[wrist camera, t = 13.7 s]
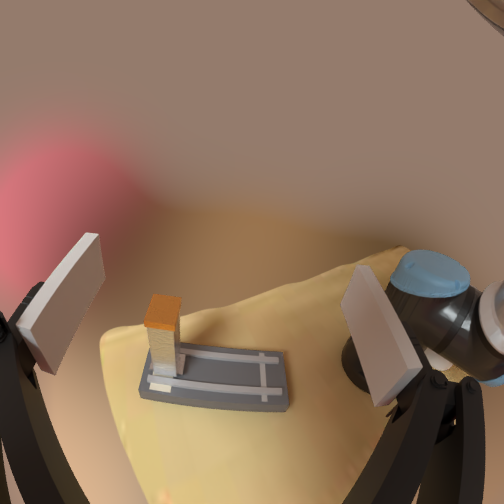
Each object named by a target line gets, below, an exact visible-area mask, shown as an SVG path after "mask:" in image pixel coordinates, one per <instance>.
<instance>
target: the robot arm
mask: <svg viewBox="0 0 504 504" xmlns="http://www.w3.org/2000/svg"><path fill="white" fill-rule="evenodd" d="M467 2H468V3H469V4H470V5H471V6H472V7H473V8H474V9H475V10H476V11H477V12H478V13H479V14H480V15H481V16H482V17H483V18H484V19H485V20H486V21H487V22H488V23H489V24H490V25H491V26H492V27H493V28H494V29H496V30H497V31H498V32H499V33H500V34H502V35H503V36H504V0H467ZM390 278H391V279H390V282H389V284H388V286H387V288H386V290H385V292H384V290H383V288H382V287H381V285H380V283H379V281H378V280H377V278H376V276H375V275H374V273H373V271H372V269H371V268H370V266H365V265H357V266H356V268H355V271H354V273H353V275H352V278H351V280H350V283H349V285H348V287H347V290H346V292H345V295H344V297H343V299H342V301H341V304H340V306H341V308H342V311H343V314H344V317H345V319H346V322H347V325H348V328H349V330H350V333H351V337H350V338H349V339H348V341H347V343H346V345H345V346H344V348H343V351H342V364H343V367H344V370H345V372H346V374H347V375H348V377H349V378H350V379H351V381H352V382H353V383H354V384H355V385H357V386H358V387H359V388H360V389H362V390H364V391H365V392H367V393H370V394H371V397H372V400H373V404H374V407H377V406H384V405H389V404H390V403H391V402H392V401H393V400H394V399H395V398H396V399H397V402H398V404H397V405H396V406H395V407H394V408H393V409H392V410H391V411H390V412H389V413H388V414H387V415H386V417H389V416H390V415H391V417H390V419H389V421H388V423H387V425H386V428H385V430H384V432H383V434H382V436H381V438H380V440H379V442H378V444H377V446H376V448H375V450H374V452H373V453H372V455H371V457H370V459H369V461H368V463H367V464H366V466H365V468H364V470H363V471H362V473H361V475H360V476H359V478H358V480H357V481H356V483H355V485H354V486H353V488H352V489H351V491H350V492H349V494H348V496H347V497H346V499H345V500H344V501H343V503H342V504H411V503H412V501H413V499H414V496H415V494H416V492H417V490H418V487H419V485H420V483H421V485H420V489H419V494H418V499H417V503H416V504H482V500H483V491H484V478H485V422H484V409H483V399H482V390H481V387H480V385H479V383H478V382H481V383H483V384H485V385H487V386H490V387H496V386H500V385H502V384H504V281H496V282H493V283H491V284H490V285H488V287H486V289H485V290H484V291H483V292H480V291H479V290H477V289H476V288H474V287H472V286H471V285H470V275H469V273H468V271H467V270H466V268H465V267H463V266H461V265H460V264H459V262H457V261H456V260H454V259H452V258H450V257H448V256H446V255H444V254H441V253H438V252H434V251H430V250H413V251H410V252H408V253H406V254H405V255H404V256H403V257H402V259H401V260H400V262H399V264H398V266H397V268H396V270H395V271H394V272H393V273H392V275H391V277H390ZM104 280H105V273H104V268H103V261H102V254H101V248H100V240H99V234H94V233H85V235H84V236H83V237H82V238H81V239H80V240H79V241H78V243H77V244H76V245H75V246H74V247H73V248H72V249H71V251H70V252H69V253H68V254H67V256H66V257H65V258H64V259H63V260H62V262H61V263H60V264H59V265H58V267H57V268H56V269H55V270H54V272H53V273H52V274H51V276H50V277H49V278H48V279H47V281H46V282H39V283H38V284H37V285H35V286H34V287H32V289H31V290H30V291H29V293H28V294H27V295H26V297H25V298H24V299H23V301H22V303H20V305H19V306H18V308H17V309H16V311H15V312H14V313H13V315H12V316H11V318H10V319H9V321H8V322H7V321H6V320H5V317H4V315H3V313H2V312H1V311H0V504H11V501H10V496H9V492H8V487H7V482H6V475H5V469H4V461H3V453H2V443H1V438H2V442H3V446H4V449H5V452H6V455H7V459H8V462H9V464H10V467H11V470H12V473H13V476H14V478H15V481H16V483H17V486H18V489H19V491H20V493H21V495H22V498H23V500H24V502H25V504H90V503H89V501H88V499H87V497H86V496H85V494H84V492H83V491H82V489H81V487H80V485H79V483H78V481H77V479H76V478H75V476H74V474H73V472H72V470H71V468H70V466H69V464H68V462H67V459H66V457H65V455H64V453H63V450H62V448H61V446H60V444H59V441H58V439H57V436H56V434H55V431H54V429H53V426H52V423H51V421H50V418H49V415H48V412H47V409H46V407H45V403H44V400H43V397H42V394H41V390H40V387H39V384H38V380H37V376H36V373H35V371H34V369H33V367H34V365H35V363H36V362H37V364H38V366H39V367H40V369H41V370H42V371H45V372H47V373H50V374H53V375H56V372H57V370H58V368H59V365H60V364H61V361H62V359H63V357H64V355H65V353H66V351H67V349H68V347H69V345H70V342H71V340H72V338H73V336H74V334H75V332H76V331H77V329H78V327H79V324H80V323H81V321H82V319H83V317H84V315H85V313H86V311H87V310H88V308H89V306H90V304H91V302H92V301H93V299H94V297H95V295H96V293H97V292H98V290H99V288H100V287H101V285H102V283H103V281H104ZM427 348H429V349H431V350H432V351H434V352H435V353H437V354H438V355H440V356H442V357H443V358H445V359H446V360H448V361H449V362H451V363H452V364H454V365H455V366H457V367H458V368H460V369H461V370H463V371H464V372H466V373H467V374H469V375H470V376H466V377H464V378H463V379H462V380H461V381H460V382H459V383H456V382H451V381H448V379H447V378H446V376H445V375H444V374H443V373H441V372H440V371H438V370H433V369H432V367H431V365H430V363H429V361H428V359H427V357H426V355H425V353H424V351H425V350H426V349H427ZM471 376H472V377H471ZM455 419H456V425H454V420H455Z"/></svg>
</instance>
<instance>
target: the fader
mask: <svg viewBox="0 0 504 504" xmlns="http://www.w3.org/2000/svg"><path fill="white" fill-rule="evenodd" d="M180 308H181V297H173V296H165V295H159V294H153V296H152V299H151V302H150V305H149V308H148V310H147V313H146V316H145V319H144V326H145V327H147V332H148V339H149V345H150V351H151V357H152V360H151V364H150V368H149V370H152V371H154V373H156V374H162V375H168V376H174V377H177V375H183V369H184V363H185V357H186V355H185V354H181V346H180Z"/></svg>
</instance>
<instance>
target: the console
mask: <svg viewBox="0 0 504 504" xmlns="http://www.w3.org/2000/svg"><path fill="white" fill-rule="evenodd" d="M180 346H181V354H185V355H186V357H185V363H184V369H183V375H177V377H174V376H168V375H162V374H156V373H154V371H152V370H149V368H150V364H151V360H152V357H151V351H150V348H149V352H148V355H147V359H146V363H145V366H144V370H143V374H142V378H141V382H140V386H139V394H140V397H141V398H143V399H149V400H154V401H160V402H166V403H172V404H178V405H186V406H193V407H202V408H211V409H222V410H236V411H255V412H285V411H286V410H287V408H288V406H289V398H288V390H287V382H286V374H285V366H284V358H283V352H273V351H257V350H244V349H233V348H223V347H213V346H205V345H196V344H189V343H181V342H180Z"/></svg>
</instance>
